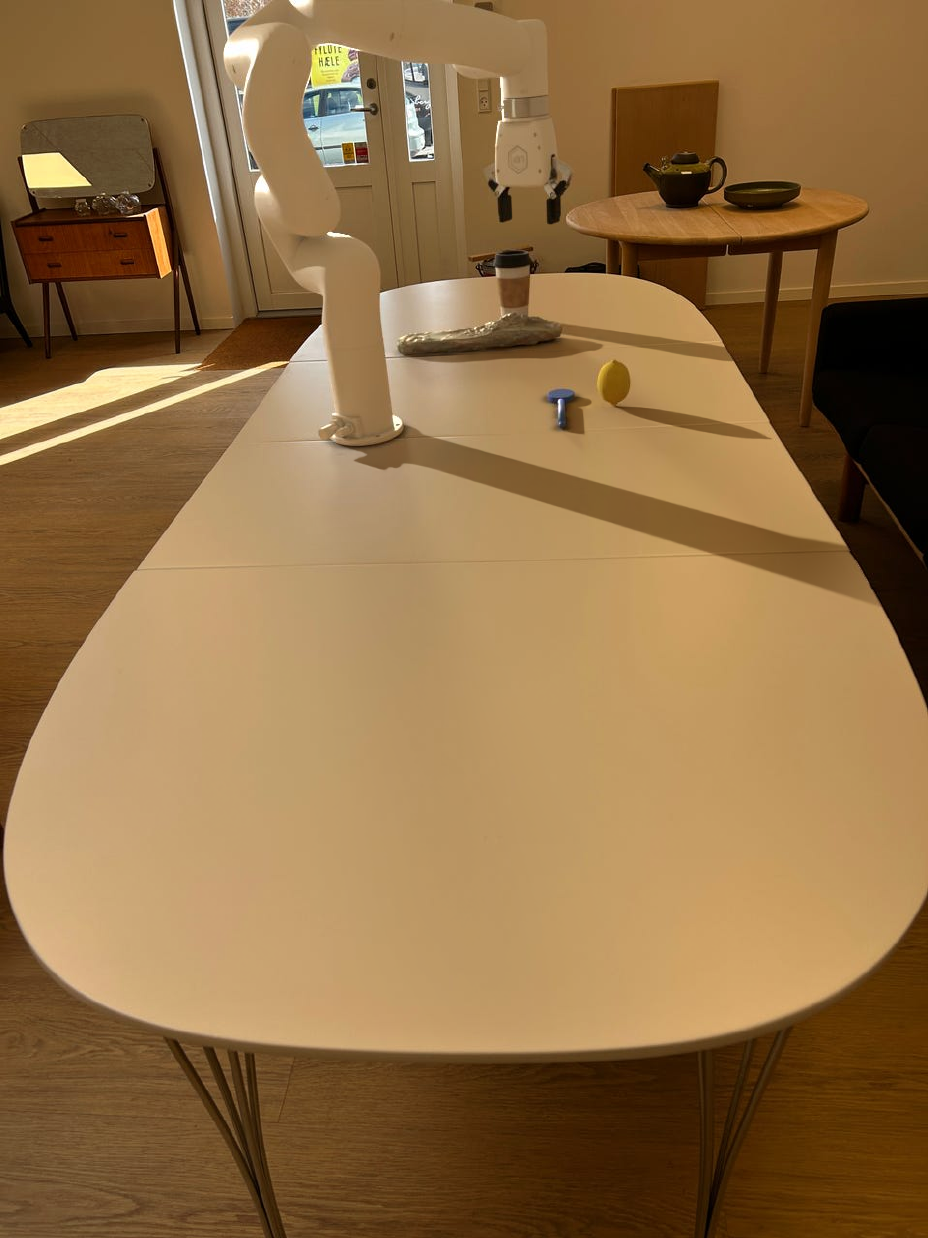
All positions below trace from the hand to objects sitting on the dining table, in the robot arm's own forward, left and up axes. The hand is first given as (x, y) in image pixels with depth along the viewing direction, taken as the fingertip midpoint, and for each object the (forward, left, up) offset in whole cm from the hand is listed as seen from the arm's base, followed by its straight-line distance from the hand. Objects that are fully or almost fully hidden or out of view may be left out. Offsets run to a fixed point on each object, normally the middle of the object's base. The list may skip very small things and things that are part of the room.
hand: (529, 221), depth 161 cm
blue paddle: (-13, -13, -28) cm, 33 cm away
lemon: (-7, -20, -28) cm, 35 cm away
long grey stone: (+15, +23, -28) cm, 39 cm away
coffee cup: (+34, +26, -28) cm, 51 cm away
